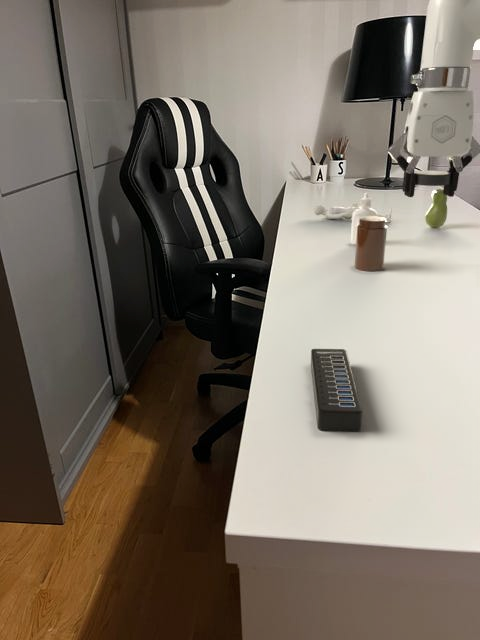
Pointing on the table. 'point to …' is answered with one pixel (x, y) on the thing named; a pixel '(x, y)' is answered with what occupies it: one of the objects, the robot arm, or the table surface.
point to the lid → (432, 178)
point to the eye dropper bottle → (361, 215)
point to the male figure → (344, 212)
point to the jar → (370, 243)
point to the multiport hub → (335, 391)
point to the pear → (437, 209)
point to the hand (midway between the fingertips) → (428, 194)
